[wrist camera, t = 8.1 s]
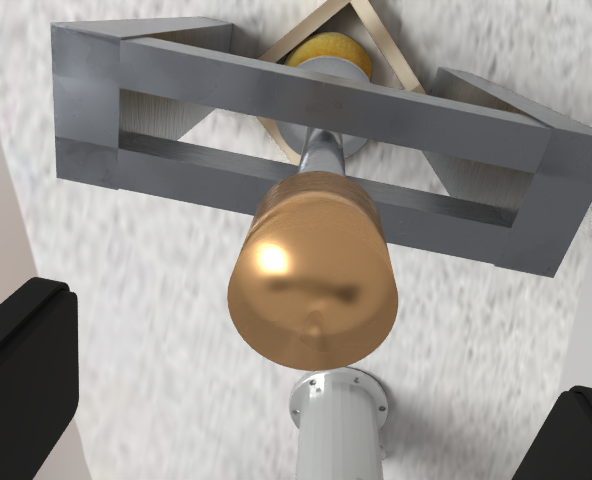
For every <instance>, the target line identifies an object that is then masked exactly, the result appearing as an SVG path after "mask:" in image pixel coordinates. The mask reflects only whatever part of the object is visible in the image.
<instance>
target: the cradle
mask: <svg viewBox="0 0 592 480" xmlns="http://www.w3.org/2000/svg"><path fill="white" fill-rule="evenodd" d="M348 3H350V4H351V6H352V7H353V9H354V10H355V12H356V13H357V15H358V17H359V18H360V20H361V21H362V23H363V24H364V26H365V28H366V29H367V31H368V32H369V34H370V35H371V37H372V38H373V40H374V42H375V43H376V45H377V46H378V48H379V49H380V51H381V52H382V54H383V56H384V57H385V59H386V60H387V62H388V63H389V65H390V67H391V68H392V70H393V71H394V73H395V74H396V76H397V77H398V79H399V81H400V82H401V84H402V85H403V87H404V89H403V90H405V91H410V92H415V93H420V94H424V95H427V94H426V92H425V91H424V89H423V88H422V86H421V84H420V83H419V81H418V80H417V78H416V76H415V75H414V73H413V72H412V70H411V68H410V67H409V65H408V64H407V62H406V60H405V59H404V57H403V56H402V54H401V52H400V51H399V49H398V48H397V46H396V44H395V43H394V41H393V40H392V38H391V36H390V35H389V33H388V32H387V30H386V28H385V27H384V25H383V24H382V22H381V21H380V19H379V17H378V16H377V14H376V13H375V11H374V9H373V8H372V6H371V5H370V3H369V1H368V0H327V1H326V2H325V3H324V4H323V5H321V6H320V7H319V8H318V9H317V10H315V11H314V12H313V13H312V14H311V15H309V16H308V17H307V18H306V19H305V20H303V21H302V22H301V23H300V24H299V25H297V26H296V27H295V28H294V29H293V30H291V31H290V32H289V33H288V34H287V35H285V36H284V37H283V38H282V39H281V40H279V41H278V42H277V43H276V44H275V45H273V46H272V47H271V48H270V49H269V50H267V51H266V52H265V53H264V54H263V55H261V56H260V57H259V58H258V59H257V60H261V61H266V62H271V63H276V62H277V61H278V60H279V59H281V58H282V57H283V56H284V55H286V54H287V53H288V52H289V51H290V50H292V49H293V48H294V47H295V46H297V45H298V44H299V43H300V42H301V41H303V40H304V39H305V38H306V37H307V36H309V35H310V34H311V33H312V32H314V31H315V30H316V29H317V28H318V27H320V26H321V25H322V24H323V23H325V22H326V21H327V20H328V19H329V18H331V17H332V16H333V15H334V14H336V13H337V12H338V11H339V10H340V9H342V8H343V7H344V6H345V5H347V4H348ZM256 117H257V118H258V120H259V121H260V122H261V124H262V125H263V126H264V128H265V129H266V130H267V131H268V133H269V134H270V135H271V137H272V138H273V139H274V140H275V142H276V143H277V144H278V146H279V147H280V148H281V149H282V151H283V152H284V153H285V155H286V156H287V157H288V159H289V160H290V161H291V162H292V164H293V165H297V166H299V163H300V159H301V156H300V155H299V154H297V153H296V152H295V151H293V150H292V149H291V148H290V147H289V146H288V145H287V144H286V142H285V141H284V140H283V138H282V136H281V135H280V132H279V130H278V127H277V124H276V120H273V119H268V118H263V117H259V116H256Z"/></svg>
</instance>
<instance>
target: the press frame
mask: <svg viewBox="0 0 592 480" xmlns="http://www.w3.org/2000/svg"><path fill="white" fill-rule="evenodd" d="M232 26H233V23H228V22H223V21H218V20H214V19H209V18H204V17H179V18H155V19H131V20H107V21H83V22H58V23H51V47H52V72H53V97H54V122H55V147H56V172H57V178H61V179H66V180H71V181H76V182H80V183H85V184H90V185H95V186H100V187H105V188H110V189H115V190H118V189H119V188H120V189H125V190H129V191H134V192H139V193H144V194H149V195H154V196H159V197H164V198H169V199H174V200H179V201H184V202H189V203H194V204H199V205H204V206H209V207H214V208H219V209H224V210H229V211H233V212H238V213H243V214H248V215H253V216H255V213H256V210H257V208H258V205H259V204H260V202H261V200H262V198H263V197H264V196H265V195H266V193H267V192H268V191H269V190H270V189H271V188H272V187H273V186H274V185H276V184H277V183H279V182H280V181H282V180H283V179H285V178H287V177H289V176H292V175H295V174H297V172H298V168H299V166H297V165H292V164H287V163H282V162H277V161H272V160H267V159H263V158H258V157H253V156H248V155H243V154H238V153H233V152H228V151H223V150H219V149H214V148H209V147H204V146H199V145H194V144H189V143H184V142H179V141H177V140H178V139H179V138H181V137H182V136H183V135H184V134H186V133H187V132H188V131H189V130H190V129H192V128H193V127H194V126H195V125H196V124H198V123H199V122H200V121H201V120H202V119H204V118H205V117H206V116H207V115H208V114H210V113H211V112H212V111H213V110H215V109H216V108H220V109H225V110H229V111H234V112H239V113H244V114H249V115H254V116H259V117H263V118H268V119H273V120H278V121H283V122H288V123H293V124H297V125H302V126H307V127H312V128H317V129H322V130H327V131H331V132H336V133H341V134H346V135H351V136H356V137H361V138H365V139H370V140H375V141H380V142H385V143H390V144H395V145H399V146H404V147H409V148H414V149H419V150H422V152H423V154H424V155H425V157H426V158H427V160H428V162H429V163H430V165H431V166H432V168H433V169H434V171H435V173H436V174H437V176H438V177H439V179H440V180H441V182H442V184H443V185H444V187H445V188H446V190H447V192H448V193H449V195H450V196H451V197H449V196H444V195H439V194H434V193H429V192H424V191H419V190H414V189H409V188H405V187H400V186H395V185H390V184H385V183H380V182H375V181H370V180H365V179H360V178H356V177H351V176H346V175H345V177H347V178H349V179H350V180H352V181H354V182H356V183H357V184H358V185H359V186H361V187H362V188H363V189H364V190H365V191H366V192H367V193H368V194H369V195H370V197H371V198H372V199H373V201H374V203H375V205H376V206H377V209H378V211H379V214H380V217H381V222H382V226H383V231H384V235H385V239H386V242H387V243H392V244H397V245H402V246H407V247H412V248H417V249H422V250H427V251H431V252H436V253H441V254H446V255H451V256H456V257H461V258H466V259H471V260H476V261H481V262H486V263H491V264H494V266H496V267H501V268H506V269H511V270H516V271H521V272H526V273H531V274H536V275H541V276H546V277H551V278H554V276H555V274H556V272H557V270H558V268H559V266H560V264H561V262H562V260H563V258H564V256H565V254H566V252H567V250H568V248H569V246H570V244H571V242H572V240H573V238H574V236H575V234H576V232H577V230H578V228H579V226H580V224H581V222H582V220H583V218H584V216H585V214H586V212H587V210H588V208H589V206H590V204H591V202H592V128H591V127H589V126H586V125H584V124H582V123H580V122H577V121H575V120H573V119H571V118H569V117H566V116H564V115H562V114H560V113H558V112H555V111H553V110H551V109H549V108H546V107H544V106H542V105H540V104H538V103H535V102H533V101H531V100H529V99H527V98H524V97H522V96H520V95H518V94H516V93H513V92H511V91H509V90H507V89H504V88H502V87H500V86H498V85H496V84H493V83H491V82H489V81H487V80H485V79H482V78H480V77H478V76H476V75H473V74H471V73H467V72H462V71H457V70H452V69H448V68H443V67H439V68H438V71H437V74H436V77H435V81H434V84H433V87H432V90H431V94H430V96H429V95H424V94H420V93H415V92H410V91H405V90H400V89H396V88H391V87H386V86H381V85H376V84H371V83H367V82H362V81H357V80H352V79H347V78H343V77H338V76H333V75H328V74H323V73H319V72H314V71H309V70H304V69H299V68H295V67H290V66H285V65H280V64H275V63H271V62H266V61H261V60H256V59H251V58H247V57H242V56H237V55H232V54H229V52H230V43H231V35H232Z"/></svg>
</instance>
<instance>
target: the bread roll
mask: <svg viewBox="0 0 592 480" xmlns="http://www.w3.org/2000/svg"><path fill="white" fill-rule="evenodd" d="M318 56H337V57H341V58H344V59H346V60H349V61H351V62H352V63H354V64H355V65H357V66H358V67H359V68H360V69H361V70H362V71H363V72H364V73H365V74H366V76H367V77H368V79H370V77H371V73H372V65H371V62H370V58H369V57H368V55H367V54H366V52H365V51H364V50H363V48H362V47H361V46H360V45H359V44H358V43H357V42H355V41H354V40H352V39H351V38H349V37H348V36H346V35H344V34H341V33H338V32H322V33H318V34H315V35H313V36H310V37H308V38H307V39H304V40H303V41H301V42H300V43H299V44H298V45H297V46H296V47H295V48H294V49H293V50H292V51H291V53H290V54H289V55H288V57H287V58H286V60H285V62H284V64H283V65H285V66H290V67H296V66H298V65H299V64H301V63H302V62H304V61H306V60H308V59H310V58H314V57H318Z"/></svg>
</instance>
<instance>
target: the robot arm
mask: <svg viewBox="0 0 592 480" xmlns="http://www.w3.org/2000/svg"><path fill="white" fill-rule="evenodd" d="M78 402H79V367H78V300H77V295H76V293H74V292H70V289H69V286H68V284H66V283H64V282H59V281H54V280H49V279H44V278H39V277H33V278H31V279H30V280H28V281H27V282H26V283H25V284H23V286H21V287H20V288H19V289H18V290H16V291H15V292H14V293H13V294H12V295H11V296H9V297H8V298H7V299H6V300H5V301H4V302H2V303H1V304H0V480H33V478H34V477H35V475H36V473H37V472H38V470H39V469H40V467H41V466H42V464H43V463H44V461H45V460H46V458H47V457H48V455H49V454H50V452H51V451H52V449H53V447H54V446H55V444H56V443H57V441H58V440H59V438H60V437H61V435H62V434H63V432H64V431H65V429H66V428H67V426H68V425H69V423H70V421H71V420H72V418H73V416H74V414H75V412H76V409H77V406H78ZM289 411H290V415H291V418H292V420H293V422H294V424H295V425H296V427H297V428H298V429H299V440H298V453H297V465H296V477H295V480H384V479H383V470H382V461H381V460H384V459H385V458H386V457H387V452H386V451H385V450H384V449H383V448H382V446H380V440H379V430H380V429H381V428H382V426H383V425H384V424H385V421H386V419H387V416H388V401H387V397H386V394H385V392H384V390H383V388H382V387H381V386H380V385H379V383H378V382H377V381H376V380H374V379H373V378H372V377H371V376H369V375H367V374H365V373H363V372H361V371H358V370H355V369H351V368H345V367H341V368H338V369H332V370H325V371H314V372H312V373H310V374H308V375H306V376H305V377H303V378H302V379H301V380H300V381H299V382H298V383H297V384H296V385H295V387H294V389H293V390H292V393H291V396H290V403H289ZM512 480H592V388H589V387H584V386H574V387H572V388H571V389H570V390H569V391H564V392H563V393H561V395H560V396H559V397H558V399H557V401H556V403H555V404H554V406H553V408H552V410H551V411H550V413H549V415H548V417H547V418H546V420H545V422H544V424H543V425H542V427H541V429H540V431H539V432H538V434H537V436H536V438H535V439H534V441H533V443H532V445H531V446H530V448H529V450H528V452H527V453H526V455H525V457H524V459H523V461H522V462H521V464H520V466H519V468H518V469H517V471H516V473H515V475H514V476H513V478H512Z"/></svg>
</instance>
